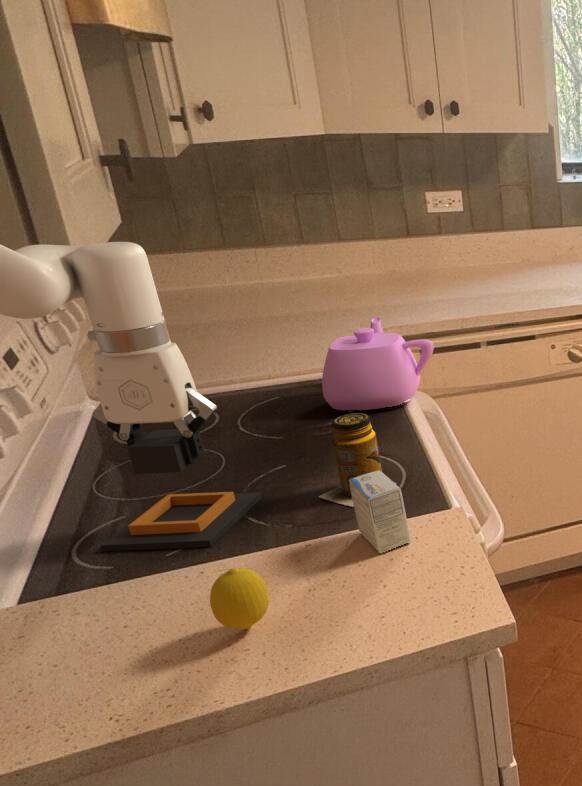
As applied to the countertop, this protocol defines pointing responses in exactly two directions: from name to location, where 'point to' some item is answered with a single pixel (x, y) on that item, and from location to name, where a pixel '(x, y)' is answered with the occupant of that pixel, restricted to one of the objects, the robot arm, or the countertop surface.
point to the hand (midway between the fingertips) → (170, 459)
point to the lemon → (239, 598)
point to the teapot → (372, 369)
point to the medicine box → (379, 510)
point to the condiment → (352, 453)
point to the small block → (158, 453)
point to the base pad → (183, 521)
